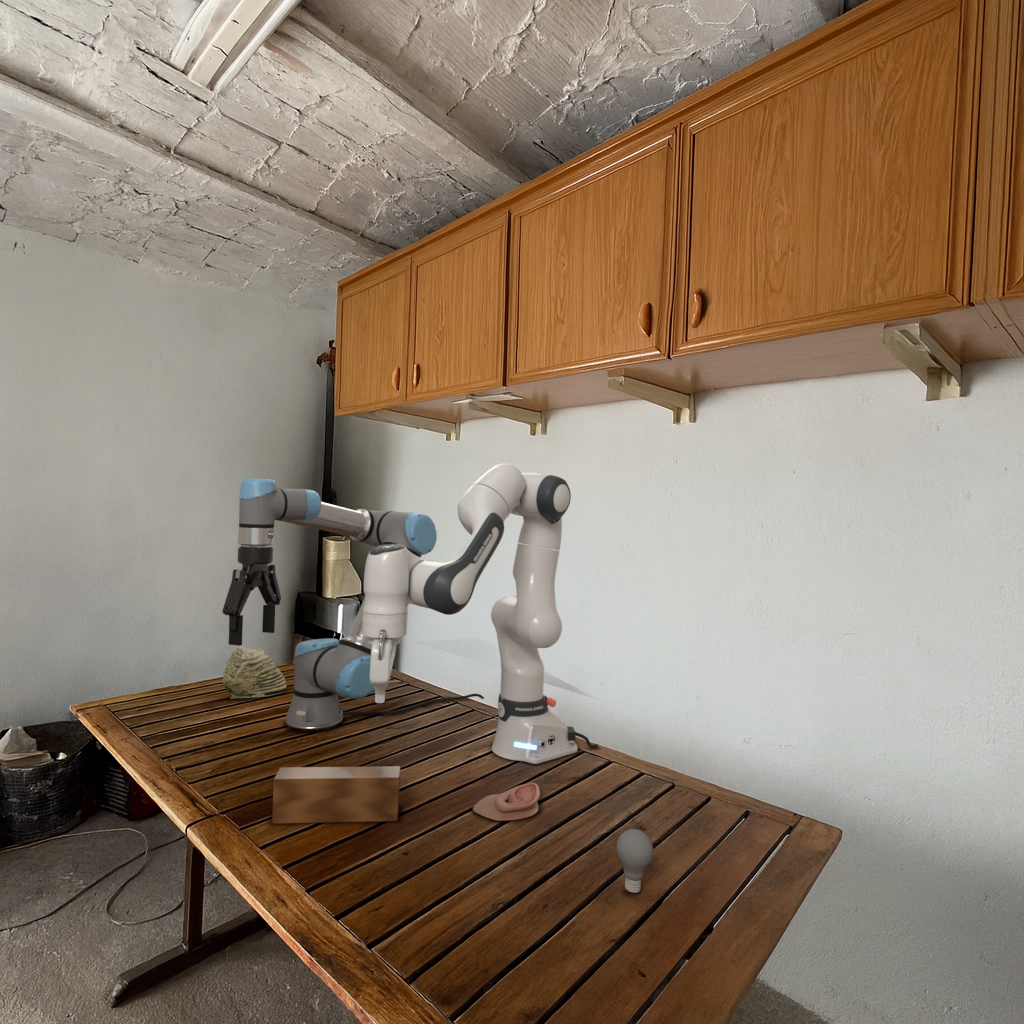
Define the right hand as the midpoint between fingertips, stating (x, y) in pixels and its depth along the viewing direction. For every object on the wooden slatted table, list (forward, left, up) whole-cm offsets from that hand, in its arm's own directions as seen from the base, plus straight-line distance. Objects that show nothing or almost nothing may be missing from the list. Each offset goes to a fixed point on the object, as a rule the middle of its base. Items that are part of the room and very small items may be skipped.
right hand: (381, 694), depth 127 cm
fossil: (+15, -87, -24) cm, 92 cm away
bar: (+7, -3, -24) cm, 26 cm away
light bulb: (-32, +41, -24) cm, 57 cm away
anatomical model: (-25, +8, -24) cm, 36 cm away
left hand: (+21, -32, +6) cm, 39 cm away
